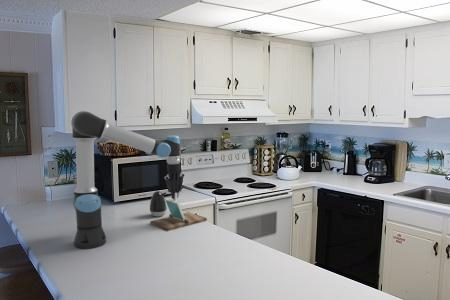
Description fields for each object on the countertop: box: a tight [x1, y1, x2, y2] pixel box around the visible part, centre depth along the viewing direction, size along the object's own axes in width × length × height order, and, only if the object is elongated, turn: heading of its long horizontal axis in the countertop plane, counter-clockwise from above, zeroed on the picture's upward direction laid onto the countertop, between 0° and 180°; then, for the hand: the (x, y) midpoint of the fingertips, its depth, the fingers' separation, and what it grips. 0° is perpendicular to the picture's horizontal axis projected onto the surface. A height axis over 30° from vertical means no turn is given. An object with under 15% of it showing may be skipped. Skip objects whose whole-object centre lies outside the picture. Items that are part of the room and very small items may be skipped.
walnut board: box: [150, 211, 208, 232], centre depth 228 cm, size 27×18×3 cm, turn 132°
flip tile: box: [164, 197, 185, 221], centre depth 226 cm, size 12×12×1 cm
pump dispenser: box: [149, 190, 168, 218], centre depth 242 cm, size 10×10×15 cm
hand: (175, 203), depth 226 cm, fingers closed
